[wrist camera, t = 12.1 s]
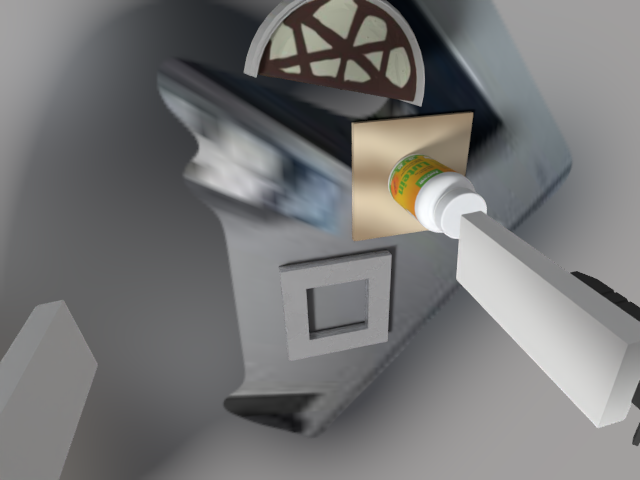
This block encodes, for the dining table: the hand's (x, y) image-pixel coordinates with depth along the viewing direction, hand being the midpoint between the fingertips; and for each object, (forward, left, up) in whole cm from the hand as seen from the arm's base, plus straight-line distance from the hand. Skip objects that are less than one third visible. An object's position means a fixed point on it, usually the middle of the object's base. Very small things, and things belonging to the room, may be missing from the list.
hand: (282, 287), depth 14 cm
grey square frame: (+20, +8, -25) cm, 33 cm away
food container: (-7, +7, -25) cm, 27 cm away
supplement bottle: (+6, +16, -24) cm, 30 cm away
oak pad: (+6, +16, -25) cm, 30 cm away
